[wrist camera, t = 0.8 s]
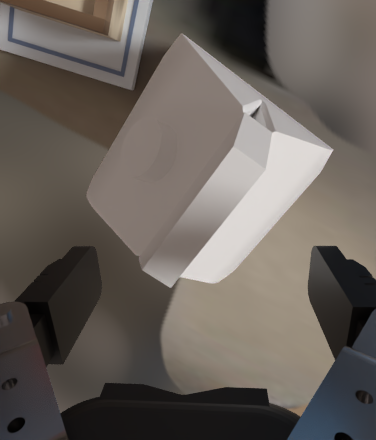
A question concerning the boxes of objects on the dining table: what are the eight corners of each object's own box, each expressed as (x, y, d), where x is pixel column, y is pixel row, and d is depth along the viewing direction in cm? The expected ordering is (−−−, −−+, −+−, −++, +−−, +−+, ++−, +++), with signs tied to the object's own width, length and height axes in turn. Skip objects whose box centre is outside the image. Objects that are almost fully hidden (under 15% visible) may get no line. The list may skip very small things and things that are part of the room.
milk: (219, 205, 39) (226, 393, 15) (136, 148, 37) (-7, 257, 13) (287, 118, 35) (449, 182, 11) (198, 49, 33) (153, -57, 9)
